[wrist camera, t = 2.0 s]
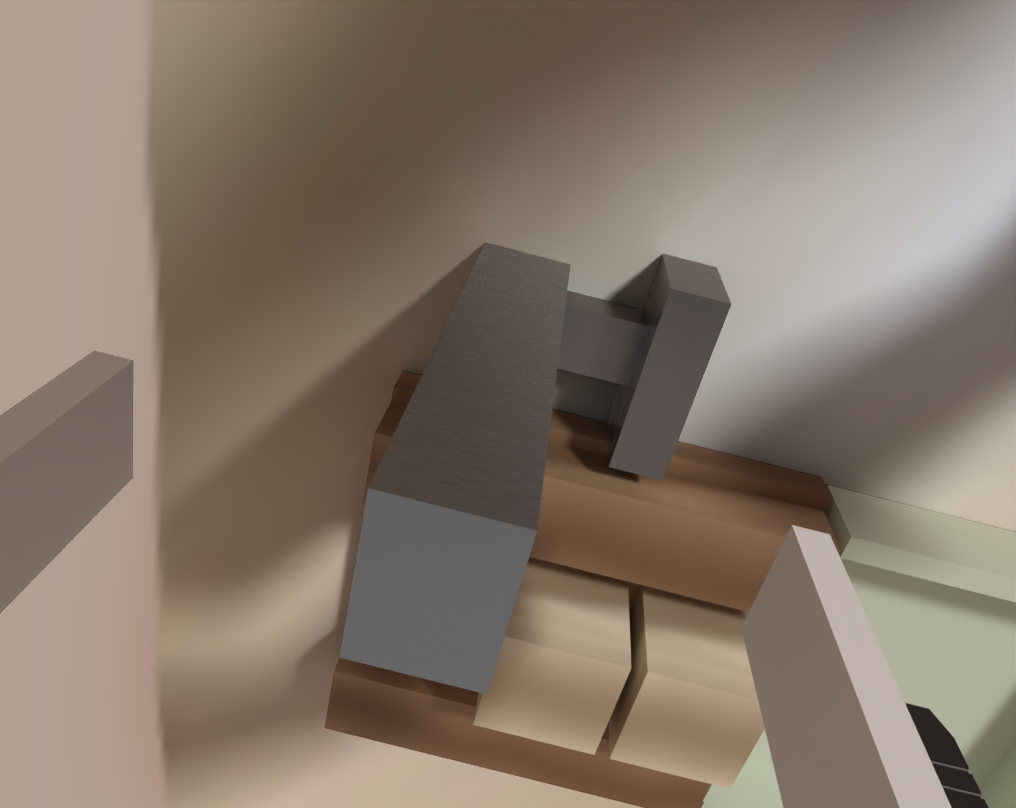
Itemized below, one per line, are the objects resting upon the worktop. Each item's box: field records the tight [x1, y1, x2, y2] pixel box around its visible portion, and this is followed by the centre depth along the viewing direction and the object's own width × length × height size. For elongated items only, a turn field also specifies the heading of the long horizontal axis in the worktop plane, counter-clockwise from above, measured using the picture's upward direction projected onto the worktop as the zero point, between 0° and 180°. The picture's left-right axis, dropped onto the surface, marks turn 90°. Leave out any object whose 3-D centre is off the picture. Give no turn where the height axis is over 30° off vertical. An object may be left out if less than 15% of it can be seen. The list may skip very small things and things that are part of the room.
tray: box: [699, 485, 1016, 808], centre depth 28 cm, size 14×12×3 cm
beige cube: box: [473, 557, 631, 755], centre depth 26 cm, size 4×4×4 cm
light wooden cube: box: [609, 585, 765, 789], centre depth 26 cm, size 4×4×4 cm
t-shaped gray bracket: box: [339, 243, 731, 694], centre depth 18 cm, size 6×7×13 cm
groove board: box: [325, 371, 841, 808], centre depth 27 cm, size 14×14×3 cm
